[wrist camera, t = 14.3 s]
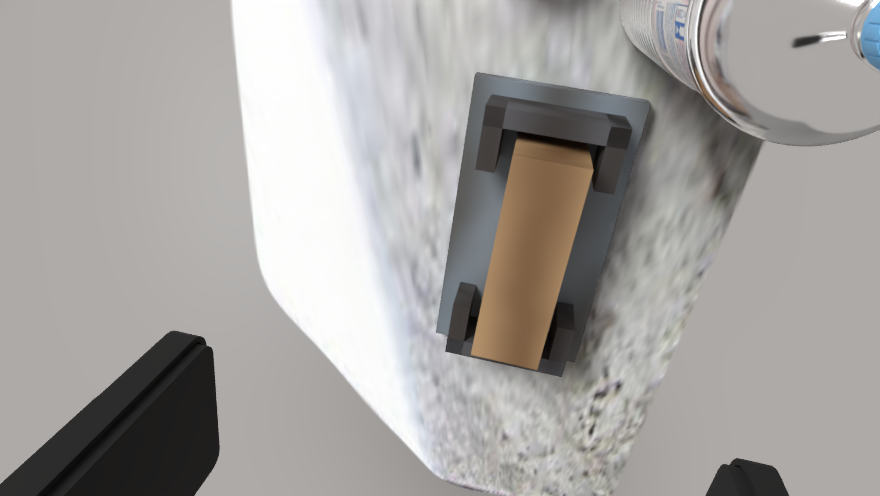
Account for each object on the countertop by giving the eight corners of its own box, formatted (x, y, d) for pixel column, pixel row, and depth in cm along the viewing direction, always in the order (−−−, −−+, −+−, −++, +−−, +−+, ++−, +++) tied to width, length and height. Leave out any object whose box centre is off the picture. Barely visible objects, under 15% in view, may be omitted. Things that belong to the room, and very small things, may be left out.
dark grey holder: (438, 324, 46) (427, 358, 41) (477, 72, 37) (467, 83, 32) (574, 353, 44) (576, 391, 40) (647, 100, 36) (660, 115, 31)
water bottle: (758, -65, 31) (1280, -181, 9) (720, 64, 34) (1036, 222, 12) (631, -75, 32) (811, -204, 10) (605, 51, 35) (696, 176, 13)
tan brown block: (481, 308, 43) (470, 354, 38) (518, 129, 37) (512, 154, 31) (539, 321, 42) (537, 370, 37) (587, 142, 36) (593, 170, 31)
